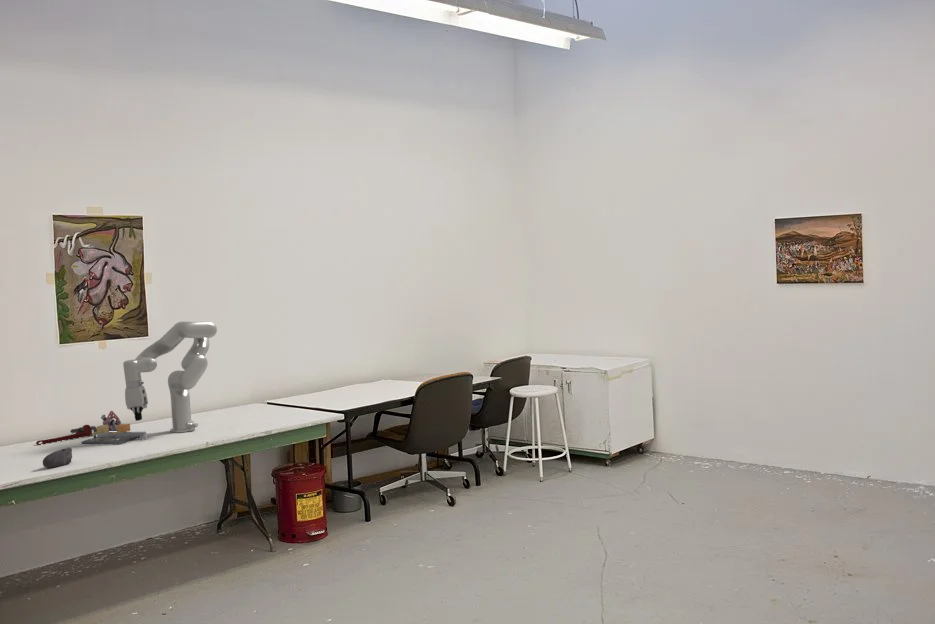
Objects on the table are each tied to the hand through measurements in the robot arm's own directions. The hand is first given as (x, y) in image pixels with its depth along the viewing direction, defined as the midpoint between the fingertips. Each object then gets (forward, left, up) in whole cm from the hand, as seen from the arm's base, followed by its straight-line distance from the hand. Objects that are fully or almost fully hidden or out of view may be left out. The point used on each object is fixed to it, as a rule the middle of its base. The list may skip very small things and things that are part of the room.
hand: (138, 420), depth 436 cm
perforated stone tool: (0, +59, -10) cm, 60 cm away
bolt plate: (+10, +6, -9) cm, 15 cm away
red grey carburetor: (+31, -21, -10) cm, 39 cm away
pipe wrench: (+40, +3, -10) cm, 42 cm away
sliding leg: (+8, +4, -7) cm, 12 cm away
